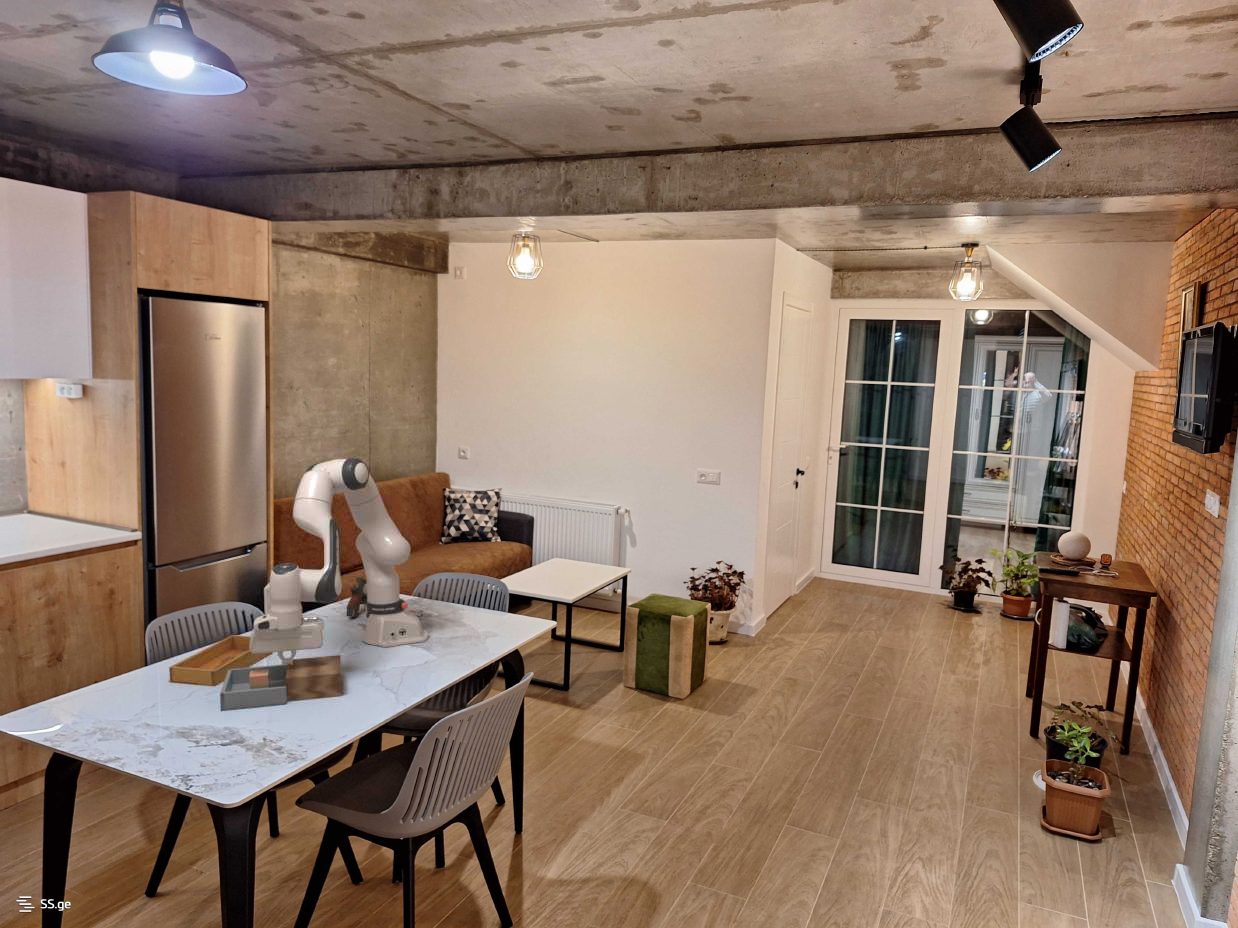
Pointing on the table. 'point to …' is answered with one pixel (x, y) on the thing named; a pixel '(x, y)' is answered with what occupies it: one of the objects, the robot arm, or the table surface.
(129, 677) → the table surface
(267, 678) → the terracotta tile
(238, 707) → the bin
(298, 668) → the walnut ledge
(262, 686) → the sage tile
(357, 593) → the gun
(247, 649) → the tray
